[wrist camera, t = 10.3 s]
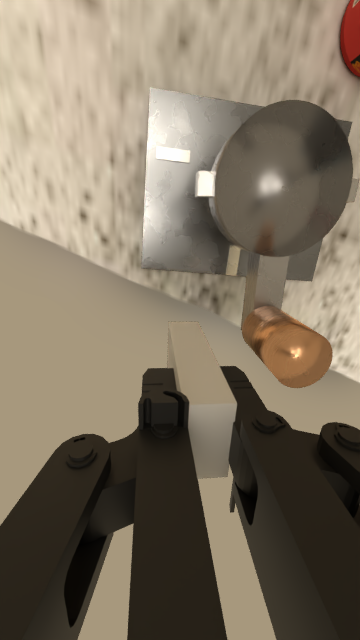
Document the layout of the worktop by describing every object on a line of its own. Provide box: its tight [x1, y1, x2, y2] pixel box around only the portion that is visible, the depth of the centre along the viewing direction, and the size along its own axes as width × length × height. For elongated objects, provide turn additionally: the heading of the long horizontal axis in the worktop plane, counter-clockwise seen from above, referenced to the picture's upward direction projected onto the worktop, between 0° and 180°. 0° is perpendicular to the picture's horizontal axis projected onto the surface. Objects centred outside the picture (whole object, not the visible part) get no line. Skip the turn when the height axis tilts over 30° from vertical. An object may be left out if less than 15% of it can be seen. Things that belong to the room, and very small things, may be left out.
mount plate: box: [141, 87, 352, 281], centre depth 26 cm, size 20×16×8 cm
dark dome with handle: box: [195, 100, 359, 388], centre depth 19 cm, size 18×12×9 cm
